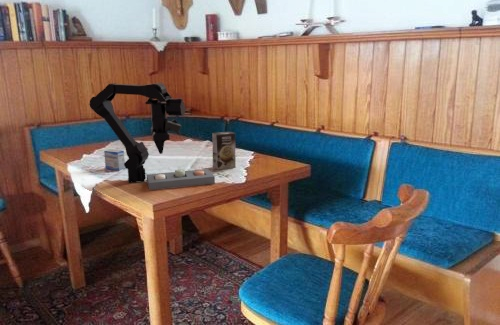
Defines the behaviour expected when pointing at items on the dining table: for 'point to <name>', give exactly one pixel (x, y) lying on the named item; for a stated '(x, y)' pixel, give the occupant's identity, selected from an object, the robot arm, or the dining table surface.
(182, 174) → the sage button
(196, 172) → the orange rounded piece
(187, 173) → the button panel
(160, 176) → the cream button
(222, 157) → the coffee box
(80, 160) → the dining table surface
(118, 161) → the medicine box
